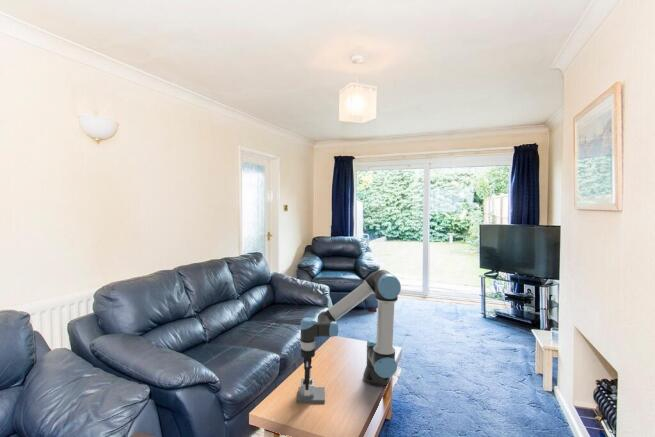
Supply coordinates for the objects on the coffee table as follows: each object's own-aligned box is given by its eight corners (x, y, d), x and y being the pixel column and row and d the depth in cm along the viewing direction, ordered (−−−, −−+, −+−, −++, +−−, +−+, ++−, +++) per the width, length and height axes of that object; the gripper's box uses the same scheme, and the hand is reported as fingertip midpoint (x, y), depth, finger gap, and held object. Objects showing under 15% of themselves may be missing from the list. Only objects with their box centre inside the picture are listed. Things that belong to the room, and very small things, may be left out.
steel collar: (314, 389, 182) (314, 378, 182) (314, 397, 175) (314, 385, 175) (301, 389, 182) (301, 378, 182) (300, 397, 175) (300, 385, 175)
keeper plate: (324, 389, 185) (324, 387, 185) (324, 402, 173) (324, 400, 173) (298, 389, 185) (298, 387, 184) (297, 402, 173) (297, 400, 172)
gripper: (302, 338, 190) (301, 375, 191) (298, 359, 165) (298, 401, 166) (315, 338, 190) (315, 375, 191) (314, 359, 165) (314, 401, 166)
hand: (307, 387), depth 178 cm, fingers open, 13 cm apart
